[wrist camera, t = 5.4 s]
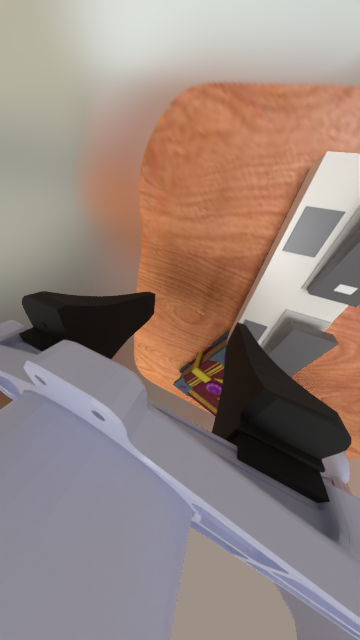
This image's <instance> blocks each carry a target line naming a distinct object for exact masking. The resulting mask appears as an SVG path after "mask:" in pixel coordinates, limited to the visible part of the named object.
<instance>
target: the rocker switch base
mask: <svg viewBox="0 0 360 640" xmlns="http://www.w3.org/2000/svg"><path fill="white" fill-rule="evenodd" d="M359 229H360V154H357V153H343V152H329V151H327V152H326V153H325V154H324V155H323V156H322V157H321V158H320V159H319V160H318V161H317V162H316V163H315V164H314V165H313V166H312V167H311V168H310V169H309V171H308V173H307V175H306V177H305V179H304V181H303V183H302V186H301V188H300V190H299V192H298V194H297V196H296V198H295V200H294V202H293V204H292V206H291V208H290V210H289V212H288V214H287V216H286V218H285V220H284V222H283V224H282V226H281V228H280V230H279V232H278V234H277V236H276V238H275V240H274V242H273V244H272V246H271V249H270V251H269V253H268V255H267V257H266V259H265V261H264V263H263V265H262V267H261V269H260V271H259V273H258V275H257V277H256V279H255V281H254V283H253V285H252V287H251V289H250V291H249V293H248V295H247V297H246V299H245V301H244V303H243V305H242V307H241V309H240V312H239V314H238V316H237V318H236V320H235V322H234V324H233V326H232V328H231V330H230V332H229V336H228V338H227V342H228V340H229V338H230V336H231V334H232V332H233V330H234V328H235V326H236V324H237V322H239V323H242V324H245V325H246V326H247V327H248V329H249V330H250V332H251V333H252V335H253V336H254V338H255V339H256V341H257V342H258V344H259V345H260V346H261V347H262V349H263V350H264V351H265V349H266V348H267V347H268V346H269V345H270V344H271V343H272V342H273V341H274V340H275V339H276V338H277V336H278V335H279V334H280V333H281V332H282V331H283V330H284V329H285V328H286V327H287V326H288V325H289V324H290V322H294V323H297V324H300V325H304V326H307V327H310V328H313V329H316V330H320V331H323V332H324V331H325V330H326V329H327V328H328V327H329V326H330V325H331V324H332V322H333V321H334V320H335V319H336V318H337V317H338V316H339V315H340V314H341V313H342V312H343V311H344V310H345V309H346V308H347V307H348V306H349V305H347V304H343V303H339V302H336V301H332V300H328V299H325V298H321V297H317V296H313V295H310V294H309V293H308V291H307V287H308V286H309V284H310V283H311V282H312V281H313V280H314V278H315V277H316V276H317V275H318V274H319V273H320V272H321V271H322V270H323V269H324V267H325V266H326V265H327V264H328V263H329V262H330V261H331V260H332V259H333V258H334V256H335V255H336V254H337V253H338V252H339V251H340V250H341V249H342V248H343V246H344V245H345V244H346V243H347V242H348V241H349V240H350V239H351V238H352V237H353V235H354V234H355V233H356V232H357V231H358V230H359ZM226 345H227V344H226Z"/></svg>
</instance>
